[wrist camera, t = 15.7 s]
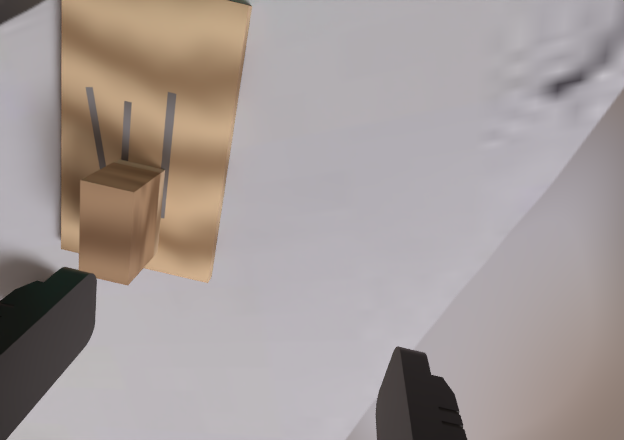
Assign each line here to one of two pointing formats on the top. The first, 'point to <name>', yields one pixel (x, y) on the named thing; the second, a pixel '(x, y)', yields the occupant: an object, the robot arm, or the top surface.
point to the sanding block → (120, 220)
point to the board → (154, 111)
